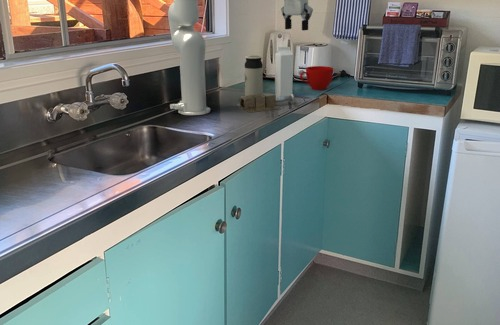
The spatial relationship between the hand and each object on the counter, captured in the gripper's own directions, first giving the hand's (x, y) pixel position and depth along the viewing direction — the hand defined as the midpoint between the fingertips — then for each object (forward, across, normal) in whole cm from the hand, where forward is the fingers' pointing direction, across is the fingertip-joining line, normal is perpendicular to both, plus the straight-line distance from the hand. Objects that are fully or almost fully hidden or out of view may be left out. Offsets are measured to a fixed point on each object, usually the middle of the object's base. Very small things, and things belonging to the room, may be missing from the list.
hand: (296, 29), depth 209 cm
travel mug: (+30, -19, -8) cm, 37 cm away
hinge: (+30, -2, -21) cm, 36 cm away
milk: (+30, -10, +2) cm, 32 cm away
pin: (+30, 0, -13) cm, 33 cm away
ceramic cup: (+31, -12, +26) cm, 42 cm away
